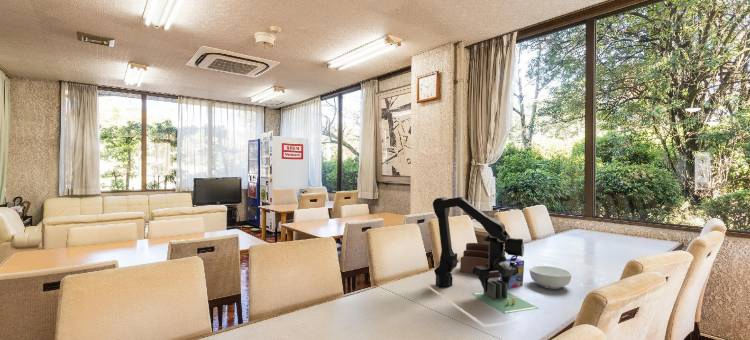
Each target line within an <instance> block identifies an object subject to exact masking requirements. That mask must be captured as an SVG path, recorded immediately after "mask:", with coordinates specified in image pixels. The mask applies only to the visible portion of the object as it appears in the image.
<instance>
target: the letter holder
mask: <svg viewBox="0 0 750 340" xmlns="http://www.w3.org/2000/svg"><path fill="white" fill-rule="evenodd" d="M462 253H463V255H462V256H460V267H459V272H460V273H466V274H471V275H474V274H473V268H474V267H475V266H483V267H485V268H488V267H487V266H486V264H488V263H489V257H487V254H489V243H481V242H480V243H479V242H467V243H466V244H465V250H463V252H462ZM504 256H505V257H506V252H505V248H504ZM488 277H490V278H491V279H495V278H500V272H494V273H489V276H488Z"/></svg>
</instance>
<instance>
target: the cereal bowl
mask: <svg viewBox="0 0 750 340" xmlns="http://www.w3.org/2000/svg"><path fill="white" fill-rule="evenodd" d="M529 275H530V278H531V280H533V282H535V283H536V284H538V285H540V286H541V287H543V288H545V289H550V290H551V289H552V290H557V289H558V290H559V289H560V288H564V287H566V286H568V285H569V284H570V282H571V281H572V272H570V271H569V270H566V269H564V268H560V267H556V266H549V265H548V266H547V265H535V266H531V267H530V268H529Z"/></svg>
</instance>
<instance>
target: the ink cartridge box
mask: <svg viewBox="0 0 750 340" xmlns="http://www.w3.org/2000/svg"><path fill="white" fill-rule="evenodd" d="M510 257H511V258H506V262H510V263H511V262H515V263H516V264H517V267H518V269H519V271H518V274H516V275H515V276H513V277H511V279H510V281H509V283H508V285H507V289H511V288H517V287H522V286H524V285H523V284H524V271H525V269H524V268H525V260H523V259H521V258H518V257H519V256H514V255H511V256H510ZM499 280H501V281H502V276H501V273H500V277H499Z"/></svg>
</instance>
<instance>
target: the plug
mask: <svg viewBox="0 0 750 340" xmlns="http://www.w3.org/2000/svg"><path fill="white" fill-rule="evenodd" d="M483 292H484V295H486V296H488V297H490V298H491V299H493V300H496V297H497V298H499V299H501V296H502V297H504V298H507V292H508V288H507V283H506V282H504V281H501V280H500V278H498V277H495V278H489V279H488V288H487V292H485V291H484V290H483Z"/></svg>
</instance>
